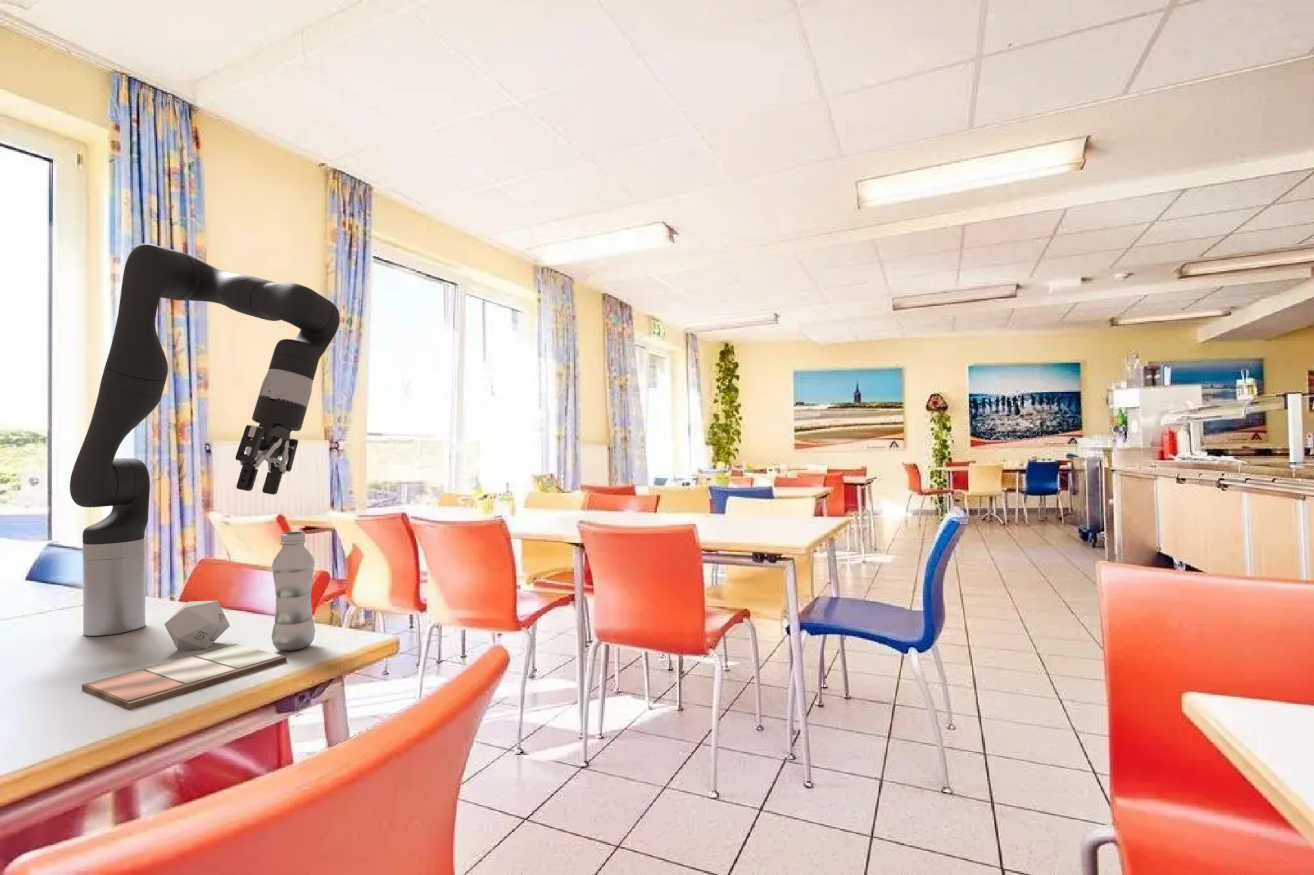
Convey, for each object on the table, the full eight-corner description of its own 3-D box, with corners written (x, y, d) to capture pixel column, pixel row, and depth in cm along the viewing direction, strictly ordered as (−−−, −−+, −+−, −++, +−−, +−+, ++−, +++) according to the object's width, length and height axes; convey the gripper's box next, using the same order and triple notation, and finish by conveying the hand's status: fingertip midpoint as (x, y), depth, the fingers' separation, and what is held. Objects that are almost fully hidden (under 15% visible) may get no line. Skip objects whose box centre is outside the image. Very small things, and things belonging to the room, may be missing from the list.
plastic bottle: (298, 641, 115) (297, 529, 115) (324, 646, 112) (322, 531, 112) (263, 652, 109) (261, 534, 109) (288, 657, 106) (287, 536, 106)
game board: (81, 689, 93) (81, 683, 93) (236, 648, 111) (236, 643, 111) (129, 709, 85) (129, 702, 85) (286, 661, 104) (286, 656, 104)
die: (179, 662, 106) (221, 610, 110) (142, 634, 108) (184, 584, 111) (210, 663, 114) (249, 615, 117) (175, 638, 116) (214, 591, 119)
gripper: (280, 404, 117) (255, 491, 115) (239, 385, 103) (209, 484, 101) (322, 412, 118) (297, 499, 115) (287, 395, 104) (258, 493, 101)
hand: (256, 492), depth 108 cm, fingers open, 8 cm apart
